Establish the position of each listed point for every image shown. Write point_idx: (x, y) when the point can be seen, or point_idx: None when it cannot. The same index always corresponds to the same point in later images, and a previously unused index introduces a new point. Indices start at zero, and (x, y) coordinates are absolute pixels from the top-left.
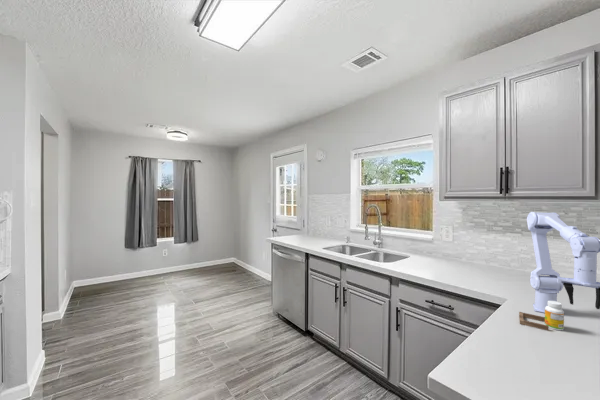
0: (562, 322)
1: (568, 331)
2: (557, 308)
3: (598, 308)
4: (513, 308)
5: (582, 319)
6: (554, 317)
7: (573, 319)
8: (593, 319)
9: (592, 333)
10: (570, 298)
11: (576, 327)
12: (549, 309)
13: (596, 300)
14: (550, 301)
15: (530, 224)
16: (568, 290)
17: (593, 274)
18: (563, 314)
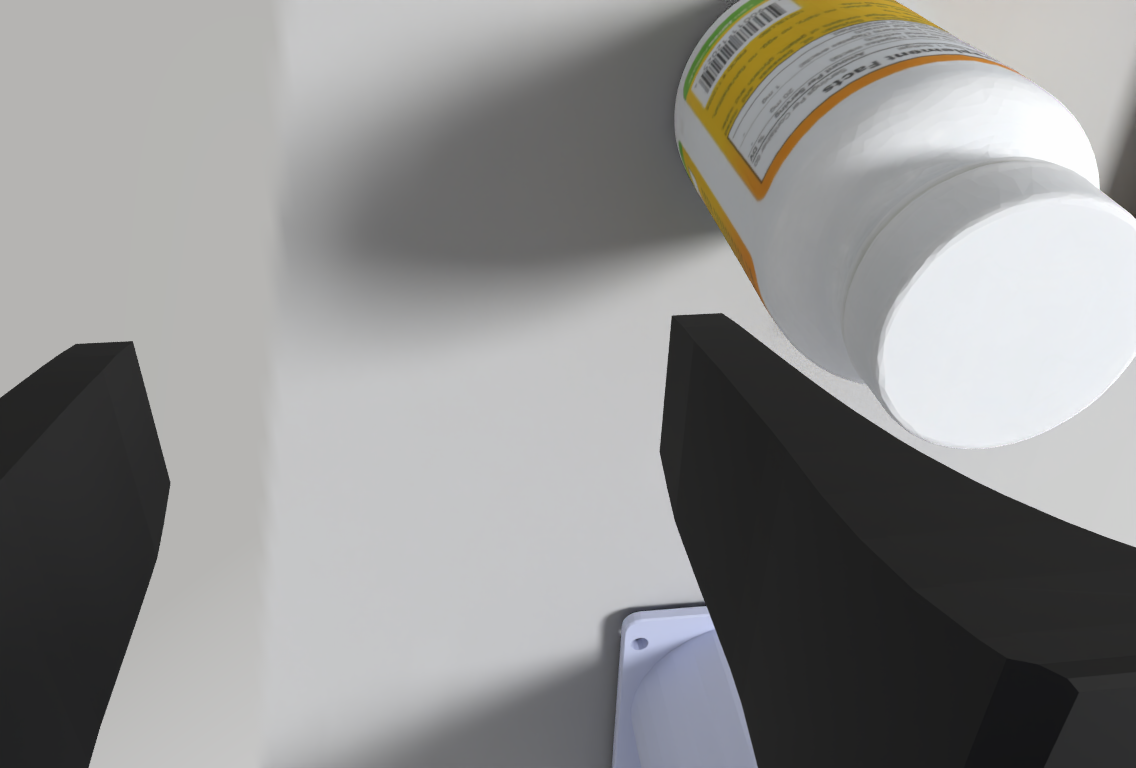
0: (743, 74)
1: (615, 63)
2: (945, 174)
3: (87, 351)
4: (1121, 516)
5: (379, 680)
6: (918, 35)
7: (475, 614)
8: (270, 754)
9: (300, 241)
10: (812, 382)
11: (478, 343)
12: (1073, 121)
13: (91, 630)
14: (1088, 355)
15: None
16: (1067, 550)
17: None
18: (776, 156)
